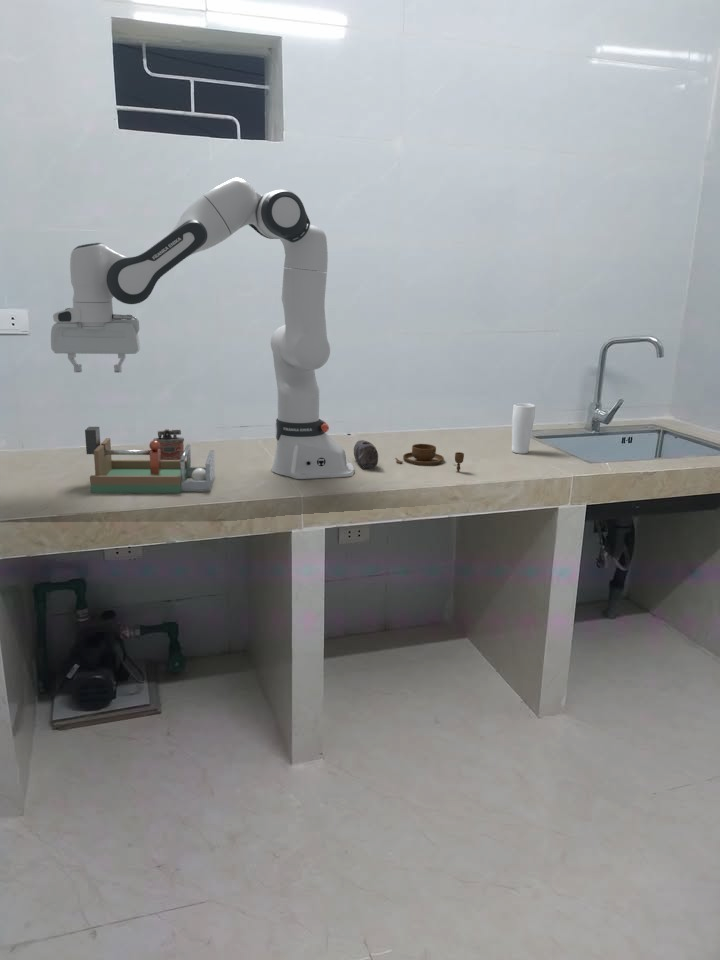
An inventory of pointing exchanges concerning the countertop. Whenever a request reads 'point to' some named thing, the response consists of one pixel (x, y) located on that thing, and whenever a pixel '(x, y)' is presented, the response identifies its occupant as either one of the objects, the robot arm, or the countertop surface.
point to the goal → (193, 485)
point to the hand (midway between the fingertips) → (98, 372)
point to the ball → (199, 474)
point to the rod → (94, 441)
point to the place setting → (428, 456)
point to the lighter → (170, 444)
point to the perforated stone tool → (365, 454)
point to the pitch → (133, 474)
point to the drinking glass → (522, 427)
